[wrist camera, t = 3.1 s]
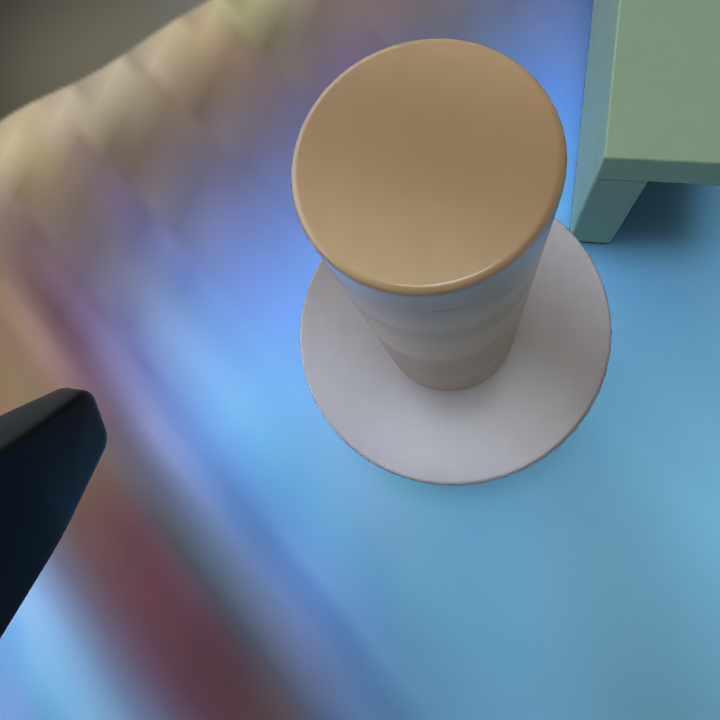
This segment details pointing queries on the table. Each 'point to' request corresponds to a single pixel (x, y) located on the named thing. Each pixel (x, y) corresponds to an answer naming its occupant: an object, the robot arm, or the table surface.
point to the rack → (646, 107)
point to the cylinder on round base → (445, 266)
